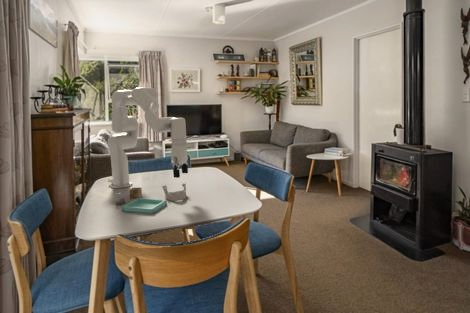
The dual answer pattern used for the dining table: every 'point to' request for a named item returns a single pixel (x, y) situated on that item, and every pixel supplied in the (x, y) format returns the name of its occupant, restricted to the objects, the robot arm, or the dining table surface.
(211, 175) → the dining table surface
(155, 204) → the tray
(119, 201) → the grey metal cylinder
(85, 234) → the dining table surface
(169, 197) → the anatomical model
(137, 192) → the walnut block
